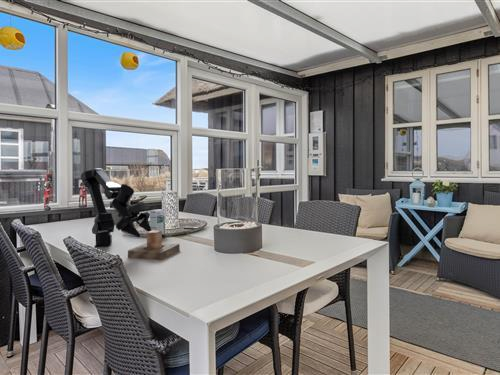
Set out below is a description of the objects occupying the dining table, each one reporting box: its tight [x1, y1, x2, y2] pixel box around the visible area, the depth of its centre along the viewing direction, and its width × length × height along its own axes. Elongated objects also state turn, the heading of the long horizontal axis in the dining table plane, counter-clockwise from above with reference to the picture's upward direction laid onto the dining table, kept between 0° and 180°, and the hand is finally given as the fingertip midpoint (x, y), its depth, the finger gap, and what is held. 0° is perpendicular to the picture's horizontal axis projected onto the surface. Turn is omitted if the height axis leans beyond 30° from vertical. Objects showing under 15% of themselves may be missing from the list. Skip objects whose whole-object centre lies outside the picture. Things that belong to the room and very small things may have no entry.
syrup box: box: [149, 208, 166, 234], centre depth 189 cm, size 6×6×14 cm
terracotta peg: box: [146, 230, 163, 250], centre depth 151 cm, size 5×5×10 cm
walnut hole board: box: [127, 242, 181, 261], centre depth 151 cm, size 16×16×3 cm
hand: (145, 234), depth 152 cm, fingers open, 9 cm apart
